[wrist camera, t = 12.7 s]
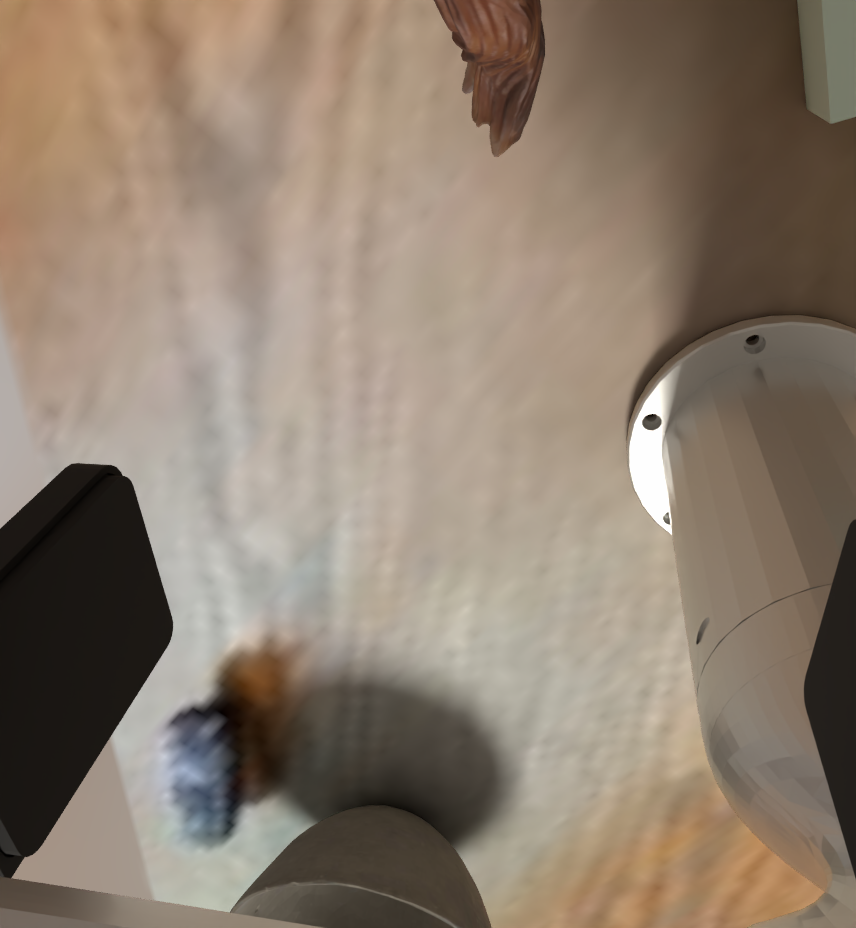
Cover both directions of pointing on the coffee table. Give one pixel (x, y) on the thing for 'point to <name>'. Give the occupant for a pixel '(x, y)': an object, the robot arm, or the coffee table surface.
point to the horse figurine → (498, 61)
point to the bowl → (368, 876)
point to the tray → (829, 57)
